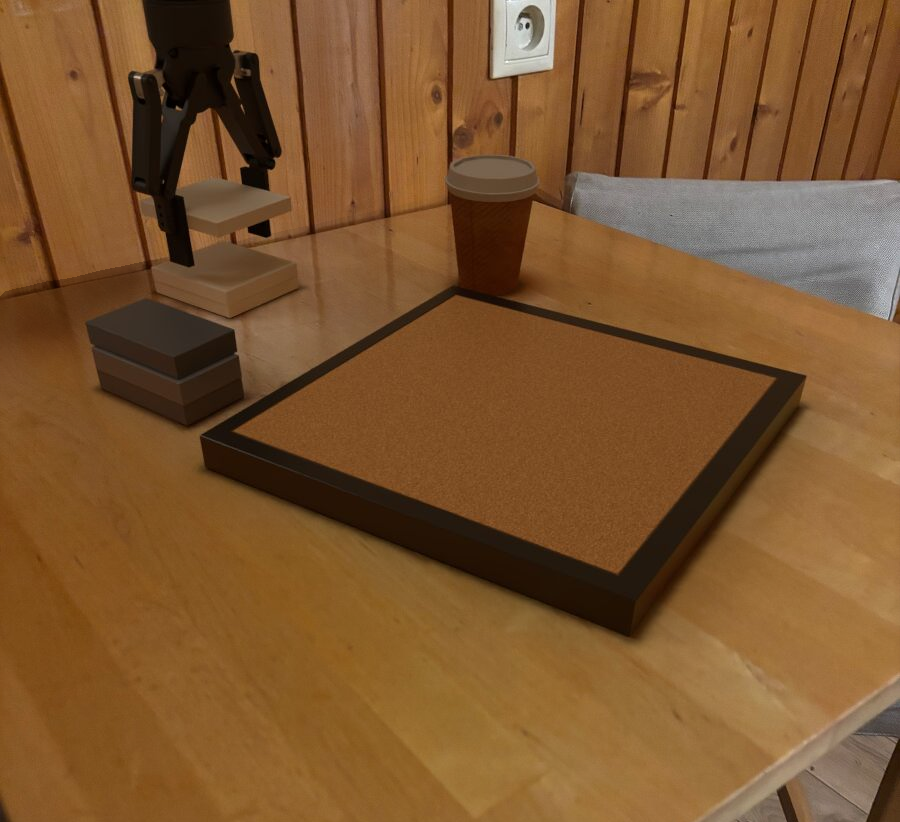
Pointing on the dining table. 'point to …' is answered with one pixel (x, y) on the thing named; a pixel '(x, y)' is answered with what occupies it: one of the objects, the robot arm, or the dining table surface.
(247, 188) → the beige flat slab
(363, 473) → the cork board
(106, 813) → the dining table surface
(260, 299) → the beige square block
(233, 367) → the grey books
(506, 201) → the disposable coffee cup
